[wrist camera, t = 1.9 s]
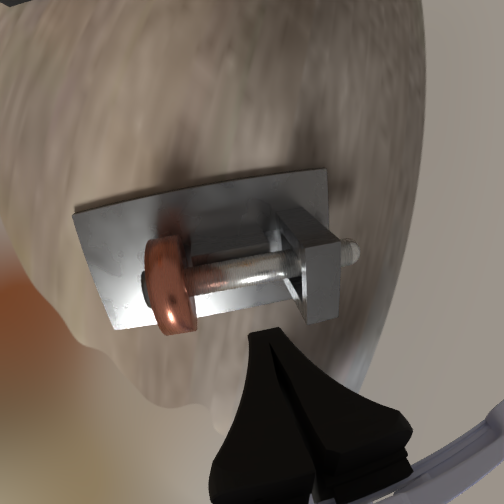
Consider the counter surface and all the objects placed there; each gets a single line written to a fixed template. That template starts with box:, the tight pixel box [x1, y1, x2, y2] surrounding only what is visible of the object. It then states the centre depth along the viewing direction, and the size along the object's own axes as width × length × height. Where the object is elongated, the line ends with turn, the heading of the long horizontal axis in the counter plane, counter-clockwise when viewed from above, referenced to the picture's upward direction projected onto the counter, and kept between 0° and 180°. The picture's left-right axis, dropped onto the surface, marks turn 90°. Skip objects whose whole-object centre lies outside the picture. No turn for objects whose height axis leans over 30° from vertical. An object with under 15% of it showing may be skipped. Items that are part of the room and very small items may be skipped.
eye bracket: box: [72, 168, 341, 330], centre depth 18 cm, size 10×18×7 cm, turn 97°
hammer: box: [141, 234, 360, 336], centre depth 19 cm, size 6×14×6 cm, turn 97°
